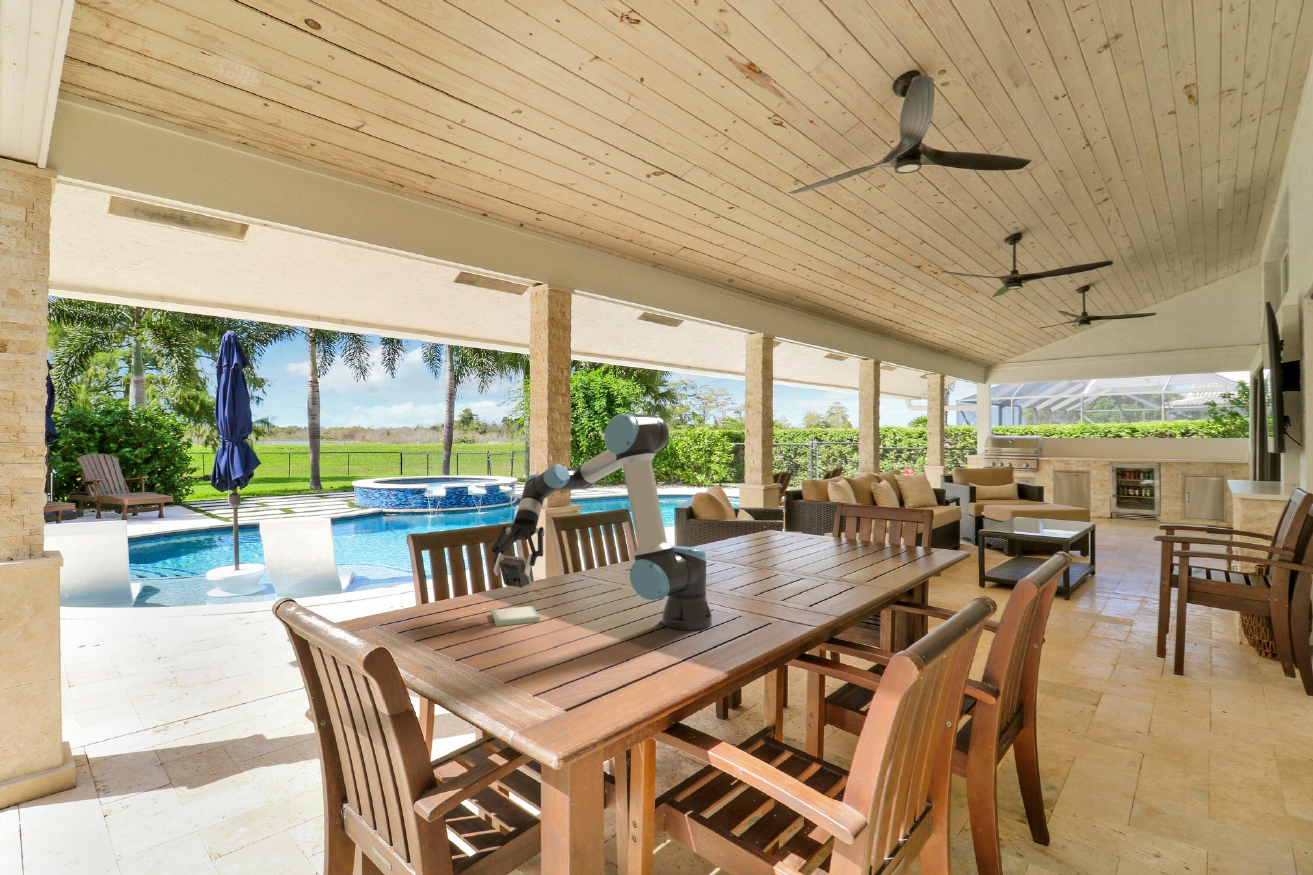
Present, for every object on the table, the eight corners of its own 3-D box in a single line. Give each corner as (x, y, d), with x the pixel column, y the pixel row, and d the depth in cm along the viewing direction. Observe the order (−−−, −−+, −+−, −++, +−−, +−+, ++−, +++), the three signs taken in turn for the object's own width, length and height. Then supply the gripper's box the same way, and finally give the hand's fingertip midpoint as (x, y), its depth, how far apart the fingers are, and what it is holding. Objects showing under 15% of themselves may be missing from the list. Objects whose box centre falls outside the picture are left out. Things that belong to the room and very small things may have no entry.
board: (539, 621, 190) (539, 616, 190) (496, 626, 185) (496, 620, 185) (532, 610, 202) (532, 605, 202) (491, 614, 197) (491, 609, 197)
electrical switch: (532, 585, 194) (530, 556, 193) (520, 590, 189) (518, 561, 189) (511, 582, 199) (508, 553, 198) (499, 587, 194) (496, 558, 194)
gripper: (561, 522, 208) (548, 581, 192) (499, 521, 210) (480, 579, 195) (557, 508, 203) (543, 567, 187) (493, 507, 205) (473, 565, 189)
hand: (511, 573), depth 191 cm, fingers closed on electrical switch, 9 cm apart
